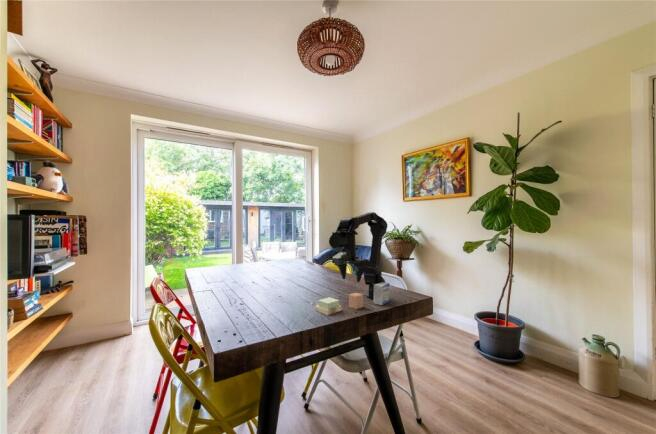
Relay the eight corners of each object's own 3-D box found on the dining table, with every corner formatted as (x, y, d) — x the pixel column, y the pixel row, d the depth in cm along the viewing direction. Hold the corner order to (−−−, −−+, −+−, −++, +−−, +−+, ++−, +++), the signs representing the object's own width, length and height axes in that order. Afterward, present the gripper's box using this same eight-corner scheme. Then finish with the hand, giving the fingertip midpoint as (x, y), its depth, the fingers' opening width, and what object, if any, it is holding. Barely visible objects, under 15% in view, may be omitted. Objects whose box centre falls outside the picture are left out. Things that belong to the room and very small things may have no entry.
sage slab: (329, 302, 117) (329, 297, 117) (339, 306, 112) (339, 300, 112) (318, 306, 112) (318, 300, 112) (327, 309, 107) (327, 303, 107)
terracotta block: (356, 304, 119) (355, 292, 119) (363, 306, 116) (363, 294, 116) (349, 306, 116) (348, 294, 116) (356, 309, 113) (356, 296, 113)
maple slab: (329, 307, 118) (329, 302, 118) (341, 311, 111) (341, 306, 112) (315, 311, 112) (315, 305, 112) (327, 316, 106) (327, 310, 106)
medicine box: (381, 305, 116) (382, 286, 116) (373, 303, 119) (373, 284, 119) (389, 301, 122) (390, 283, 122) (381, 299, 125) (381, 281, 125)
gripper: (322, 246, 118) (324, 280, 118) (351, 249, 103) (352, 288, 103) (340, 243, 125) (342, 276, 125) (369, 246, 110) (371, 282, 110)
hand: (351, 280), depth 115 cm, fingers open, 9 cm apart
